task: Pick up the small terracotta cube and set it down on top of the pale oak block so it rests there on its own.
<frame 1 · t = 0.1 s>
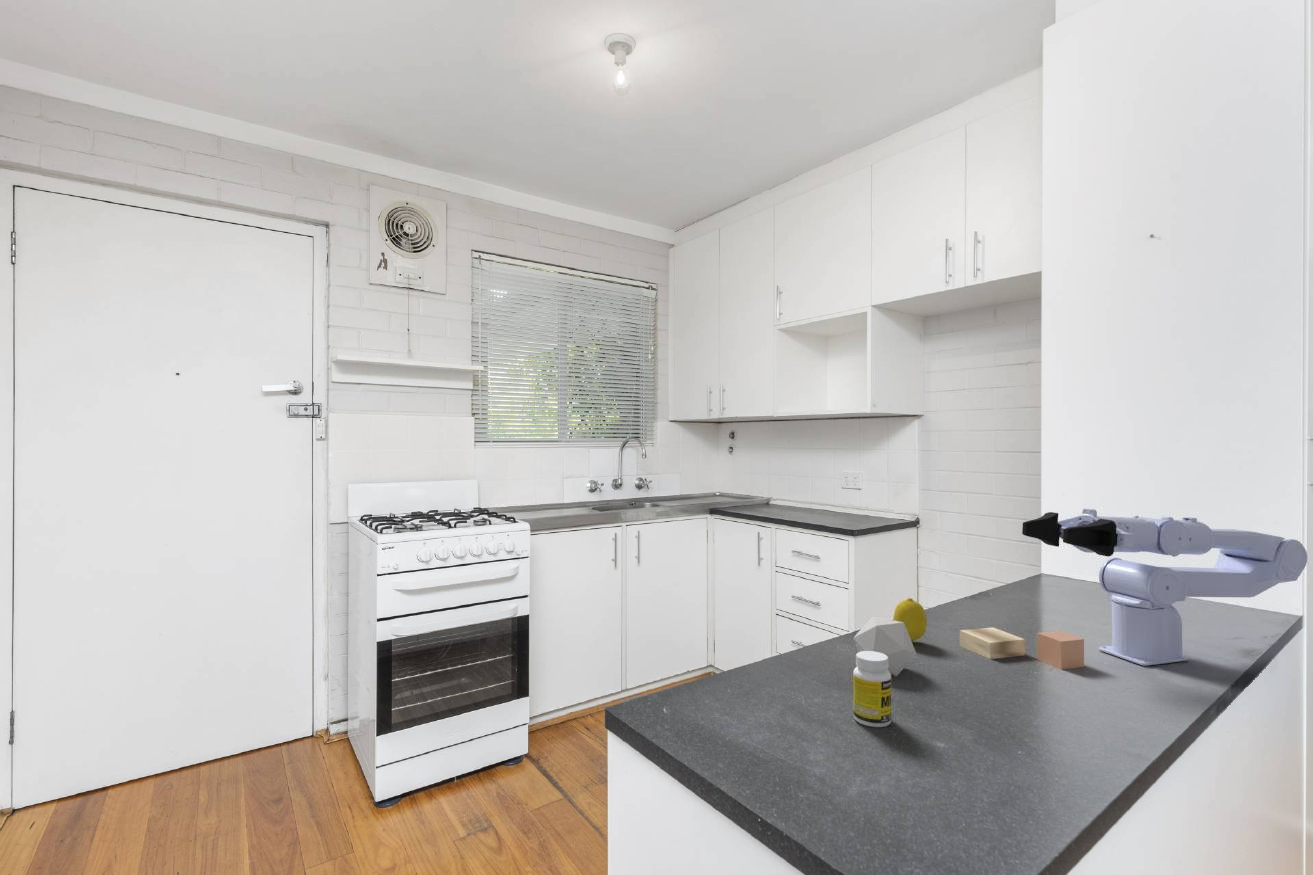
hand: (1043, 532, 99), 22 cm above the counter, tool horizontal, fingers open, 7 cm apart
die: (884, 670, 99), on the counter
oak block: (991, 652, 107), on the counter
supplement bottle: (872, 721, 81), on the counter
terracotta cube: (1060, 663, 101), on the counter
lemon: (910, 643, 112), on the counter
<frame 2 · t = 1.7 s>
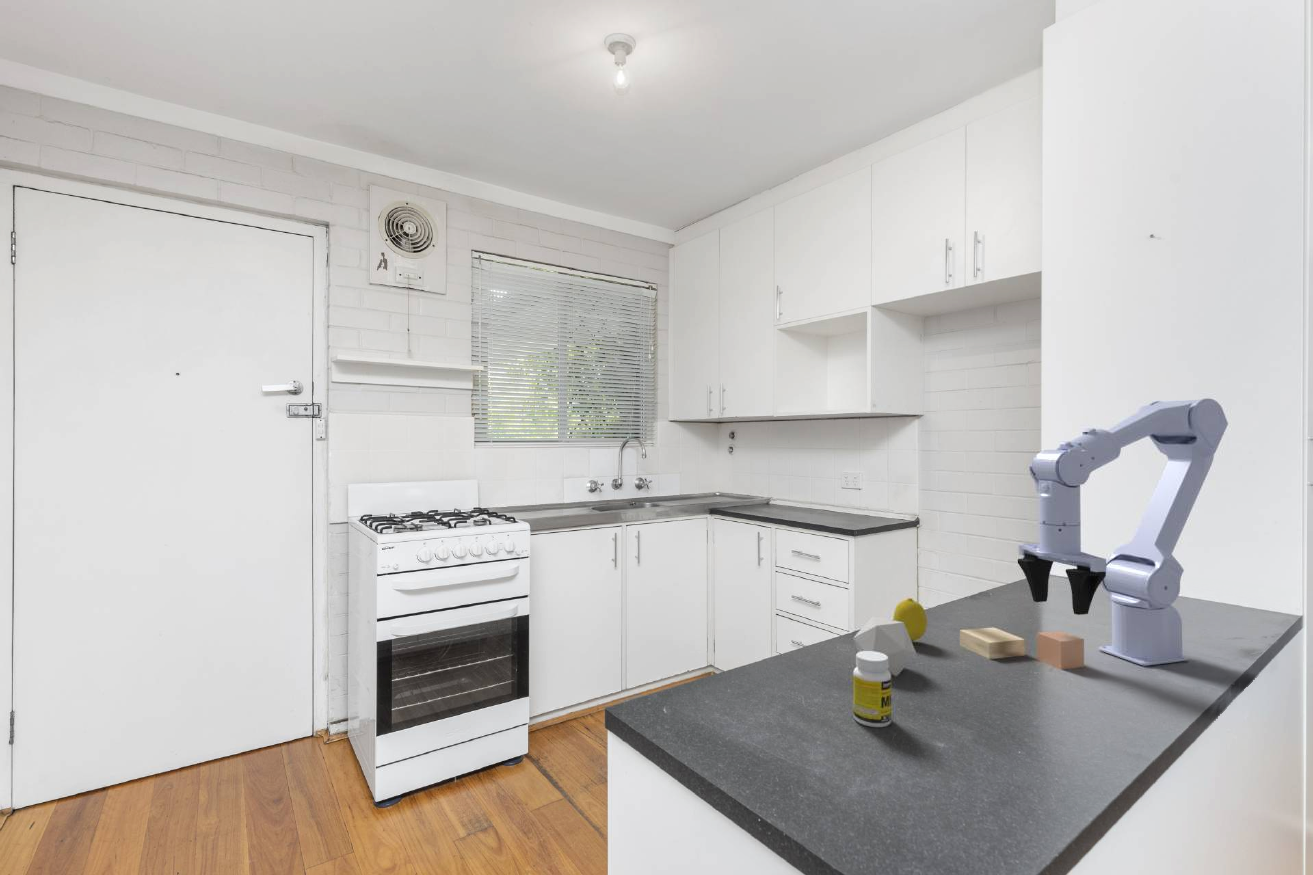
hand: (1059, 607, 101), 9 cm above the counter, tool pointing down, fingers open, 7 cm apart
nothing on the counter moved.
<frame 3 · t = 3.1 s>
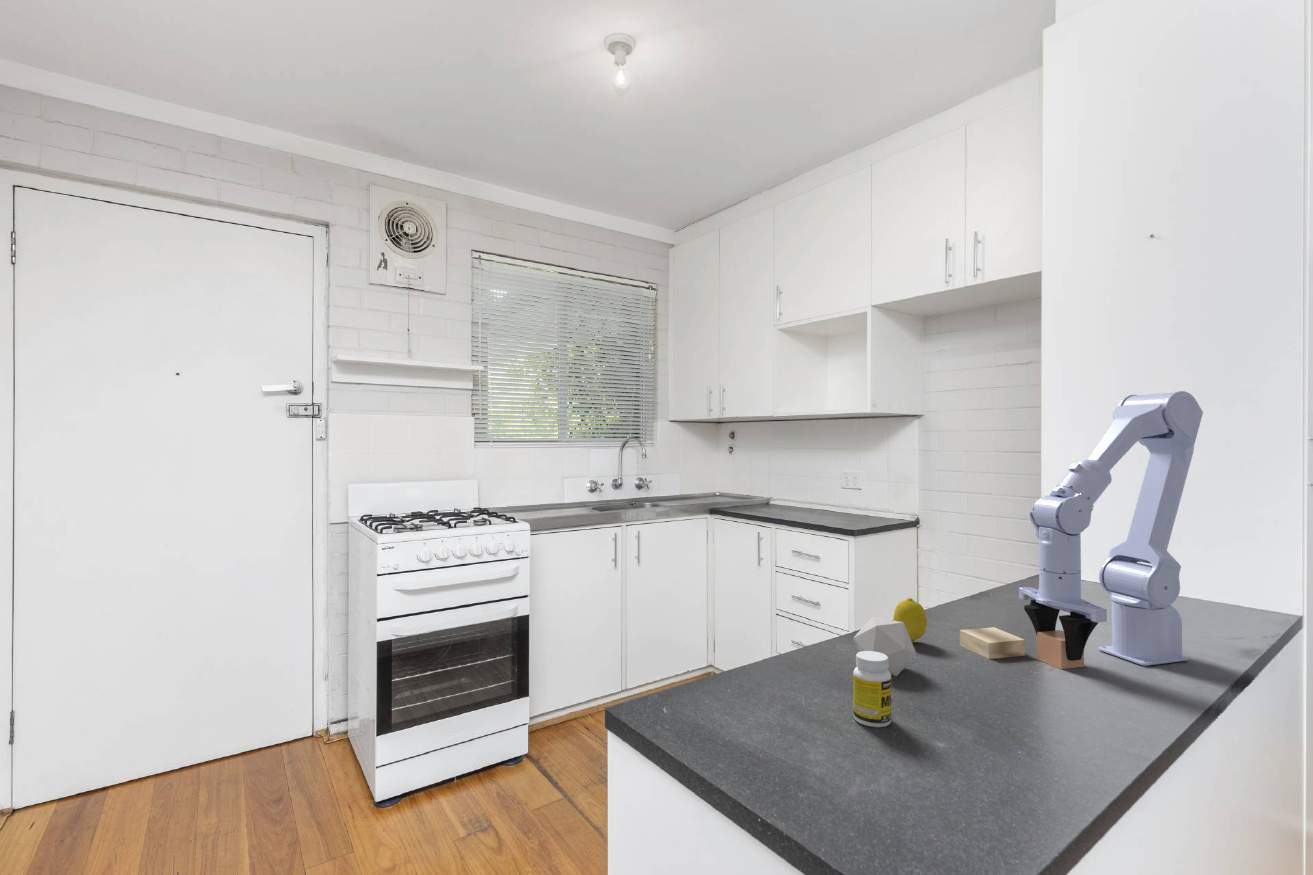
hand: (1060, 654, 101), 1 cm above the counter, tool pointing down, fingers closed on terracotta cube, 4 cm apart
terracotta cube: (1060, 662, 101), on the counter, touching gripper
everything else where it was.
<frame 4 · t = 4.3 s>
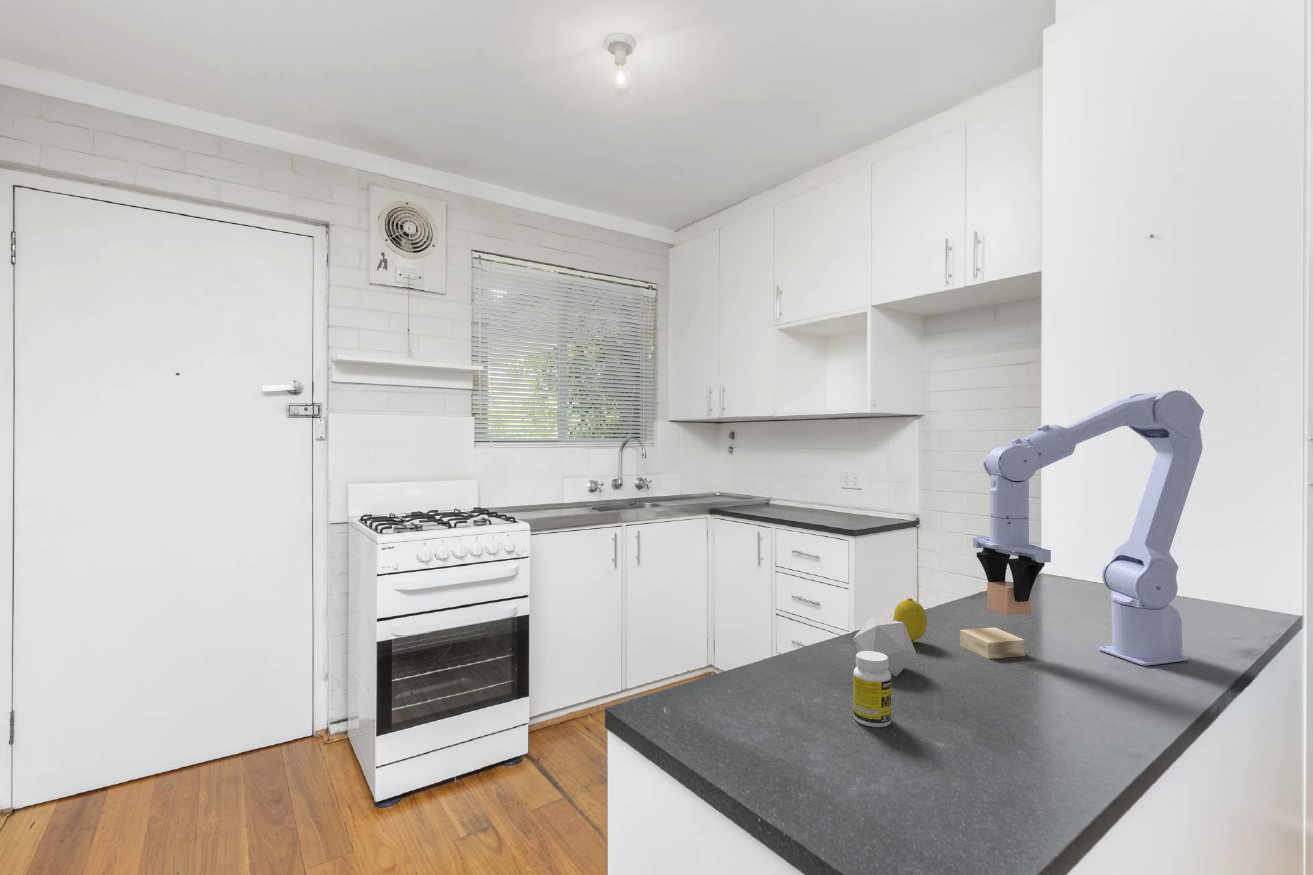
hand: (1009, 597, 106), 10 cm above the counter, tool pointing down, fingers closed on terracotta cube, 5 cm apart
terracotta cube: (1008, 611, 105), point 7 cm above the counter, touching gripper
everything else where it was.
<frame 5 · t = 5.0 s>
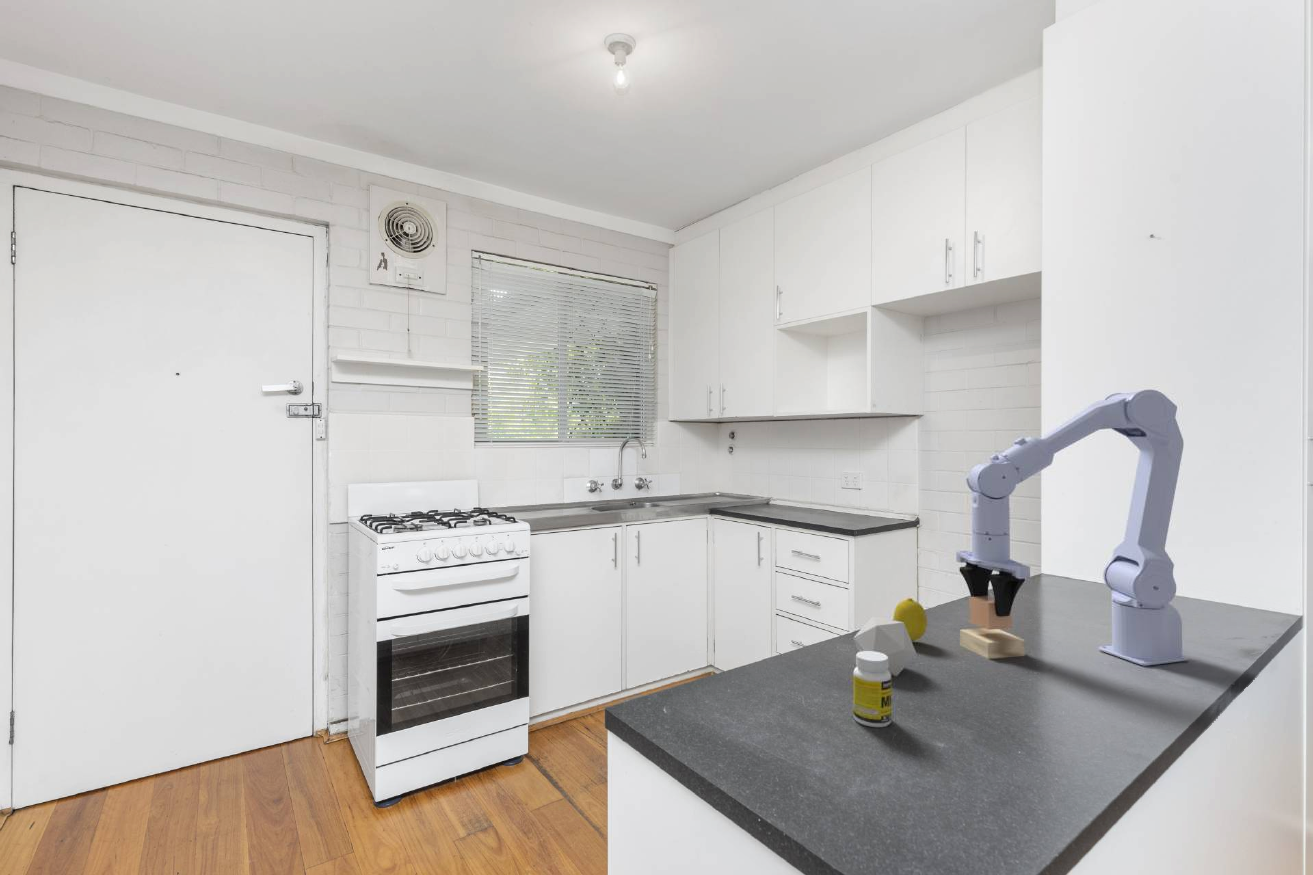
hand: (991, 611, 107), 7 cm above the counter, tool pointing down, fingers closed on terracotta cube, 5 cm apart
terracotta cube: (990, 625, 107), point 4 cm above the counter, touching gripper
everything else where it was.
when the fingers open (6 cm above the counter, at t = 5.7 s): terracotta cube stays where it is, resting on oak block.
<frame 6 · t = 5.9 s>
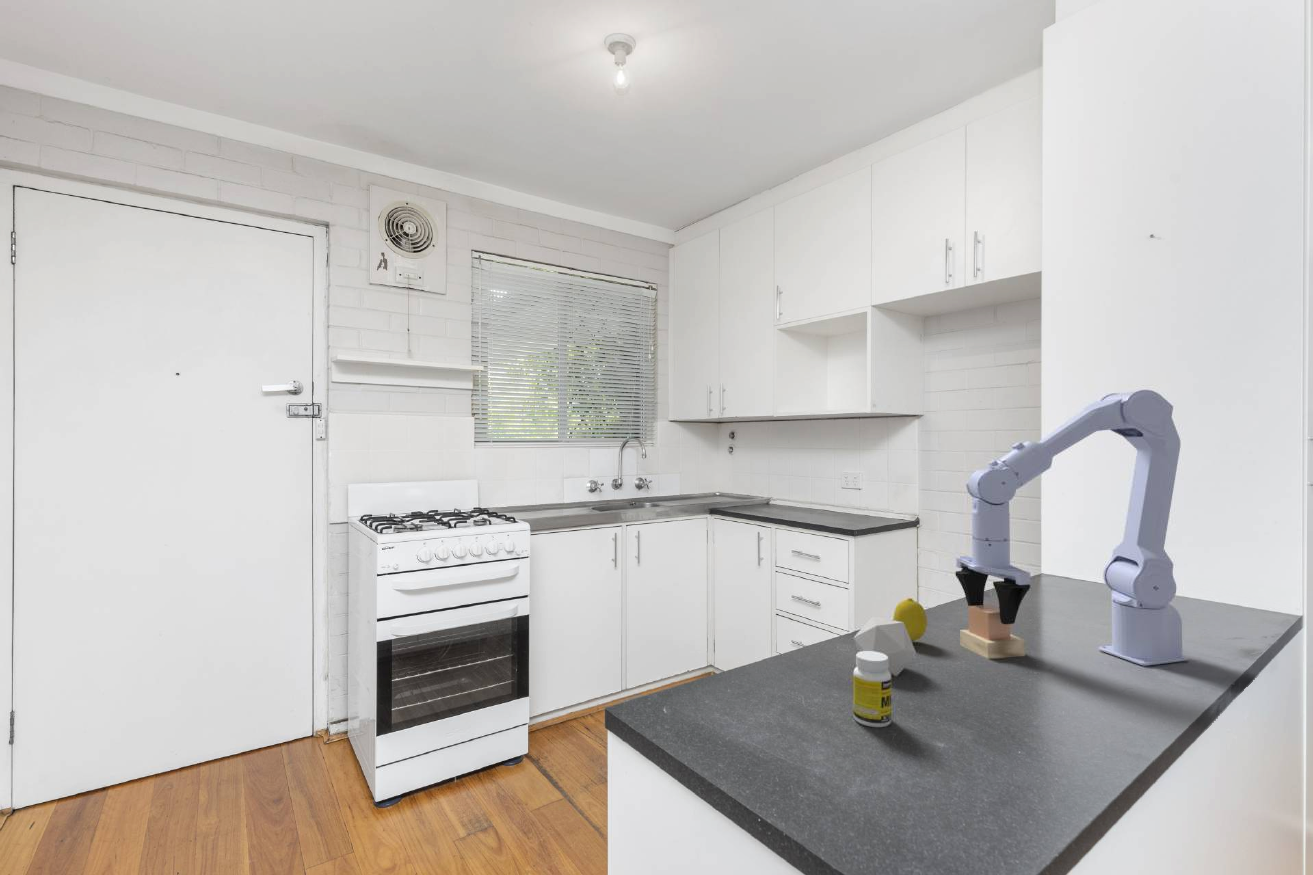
hand: (991, 617, 107), 6 cm above the counter, tool pointing down, fingers open, 7 cm apart
oak block: (991, 652, 107), on the counter, touching terracotta cube
terracotta cube: (989, 634, 108), point 3 cm above the counter, touching oak block
everything else where it was.
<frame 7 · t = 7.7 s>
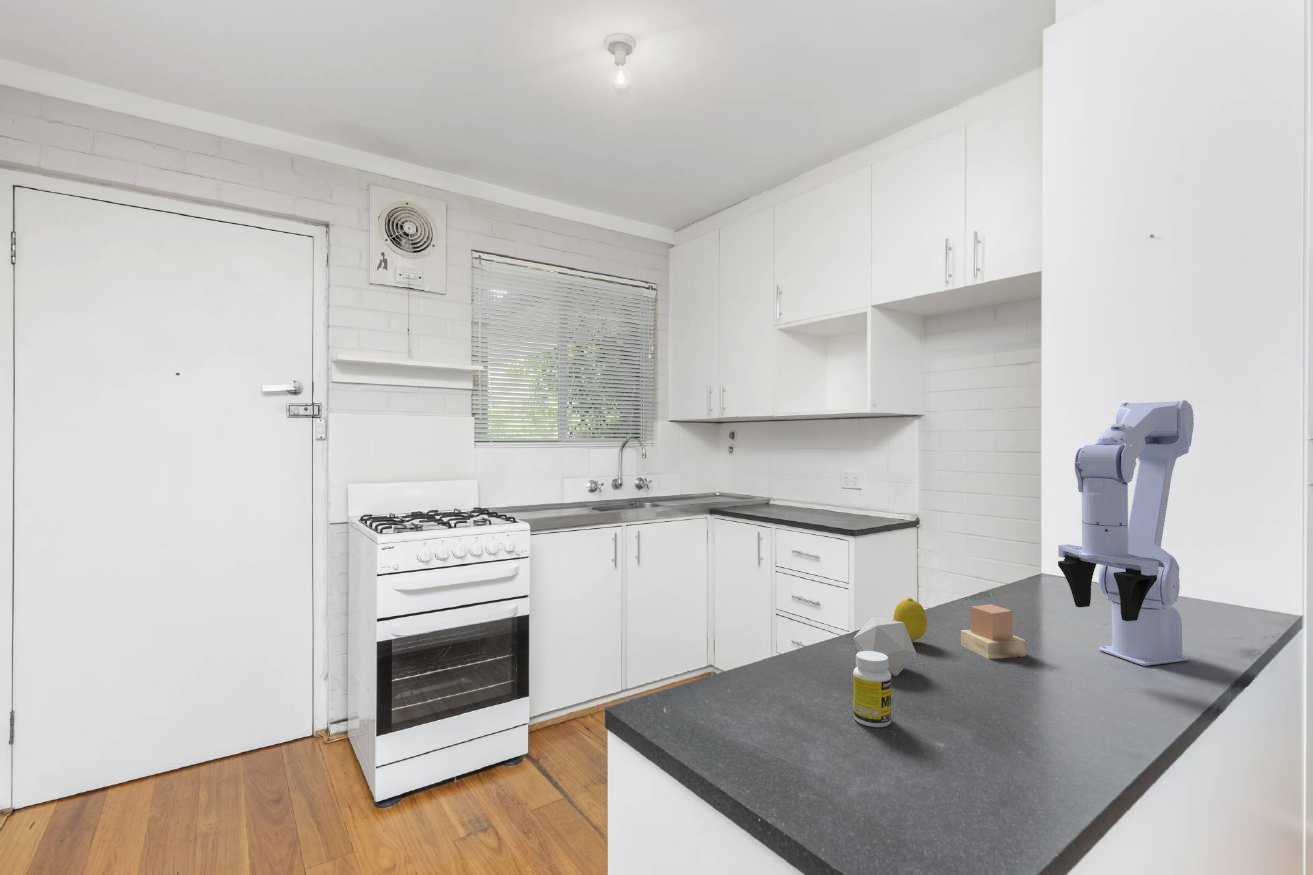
hand: (1105, 613, 95), 10 cm above the counter, tool pointing down, fingers open, 7 cm apart
nothing on the counter moved.
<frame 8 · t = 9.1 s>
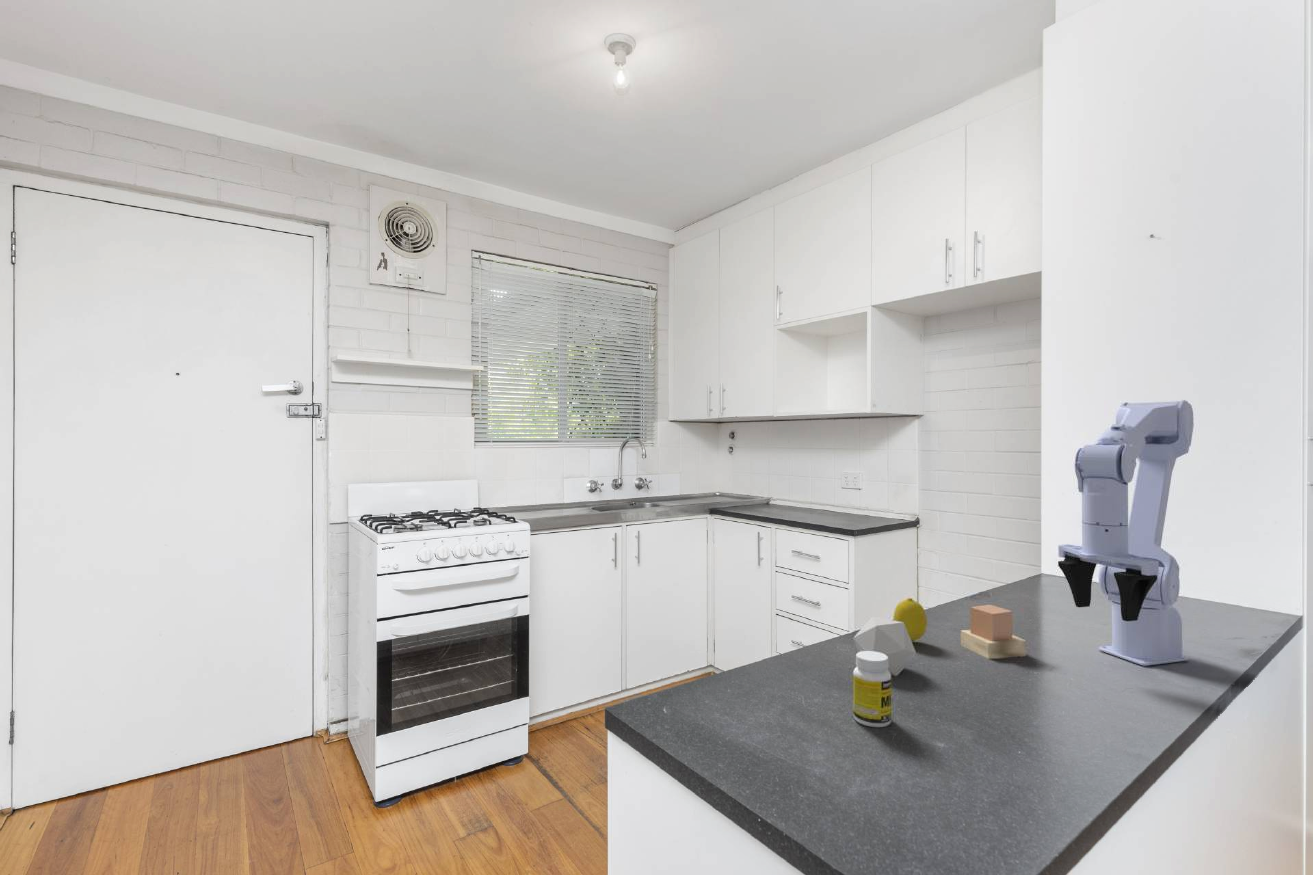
hand: (1105, 613, 95), 10 cm above the counter, tool pointing down, fingers open, 7 cm apart
nothing on the counter moved.
at the end: terracotta cube 0.2 cm off-centre on the oak block, point 3.0 cm above the oak block's base; terracotta cube tilted 0°; the gripper is holding nothing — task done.
